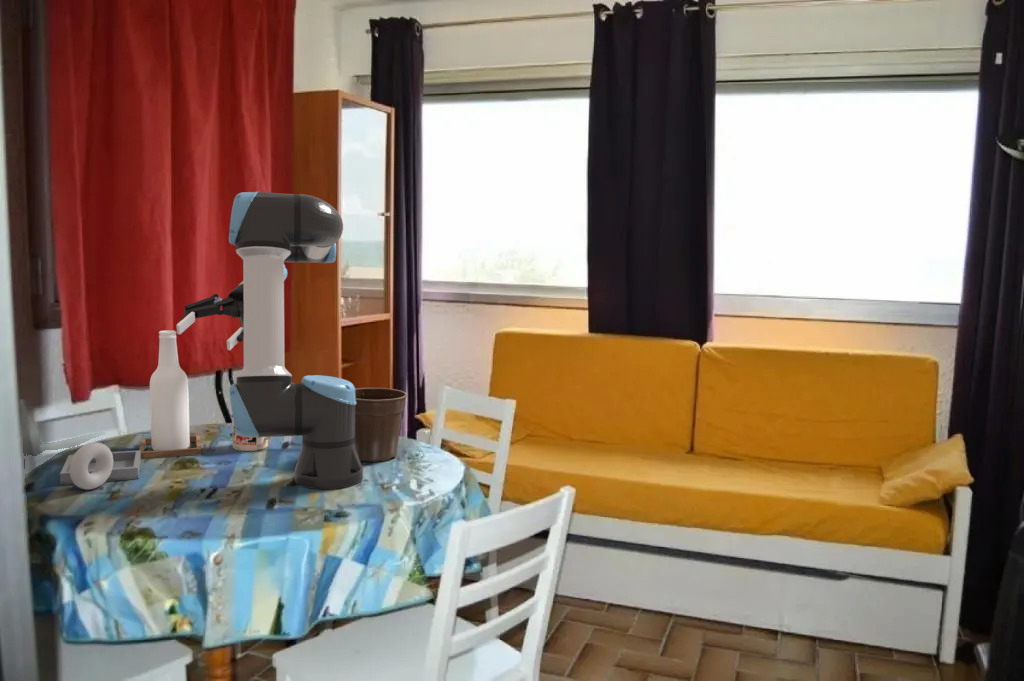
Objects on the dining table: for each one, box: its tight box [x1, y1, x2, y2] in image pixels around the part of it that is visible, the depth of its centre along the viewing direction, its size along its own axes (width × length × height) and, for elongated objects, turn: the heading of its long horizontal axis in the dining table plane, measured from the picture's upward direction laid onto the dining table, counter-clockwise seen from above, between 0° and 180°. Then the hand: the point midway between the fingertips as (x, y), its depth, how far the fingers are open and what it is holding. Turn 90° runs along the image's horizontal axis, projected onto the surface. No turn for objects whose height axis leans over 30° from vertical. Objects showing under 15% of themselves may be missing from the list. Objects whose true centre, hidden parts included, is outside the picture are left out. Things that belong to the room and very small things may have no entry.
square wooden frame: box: [139, 434, 203, 460], centre depth 196 cm, size 14×14×2 cm
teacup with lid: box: [231, 414, 275, 452], centre depth 199 cm, size 12×9×12 cm
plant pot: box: [355, 387, 408, 463], centre depth 195 cm, size 16×16×16 cm
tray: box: [59, 450, 142, 486], centre depth 175 cm, size 15×15×2 cm
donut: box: [69, 441, 113, 491], centre depth 164 cm, size 10×4×10 cm, turn 161°
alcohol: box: [149, 329, 191, 451], centre depth 194 cm, size 9×9×30 cm
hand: (203, 337), depth 191 cm, fingers open, 13 cm apart
